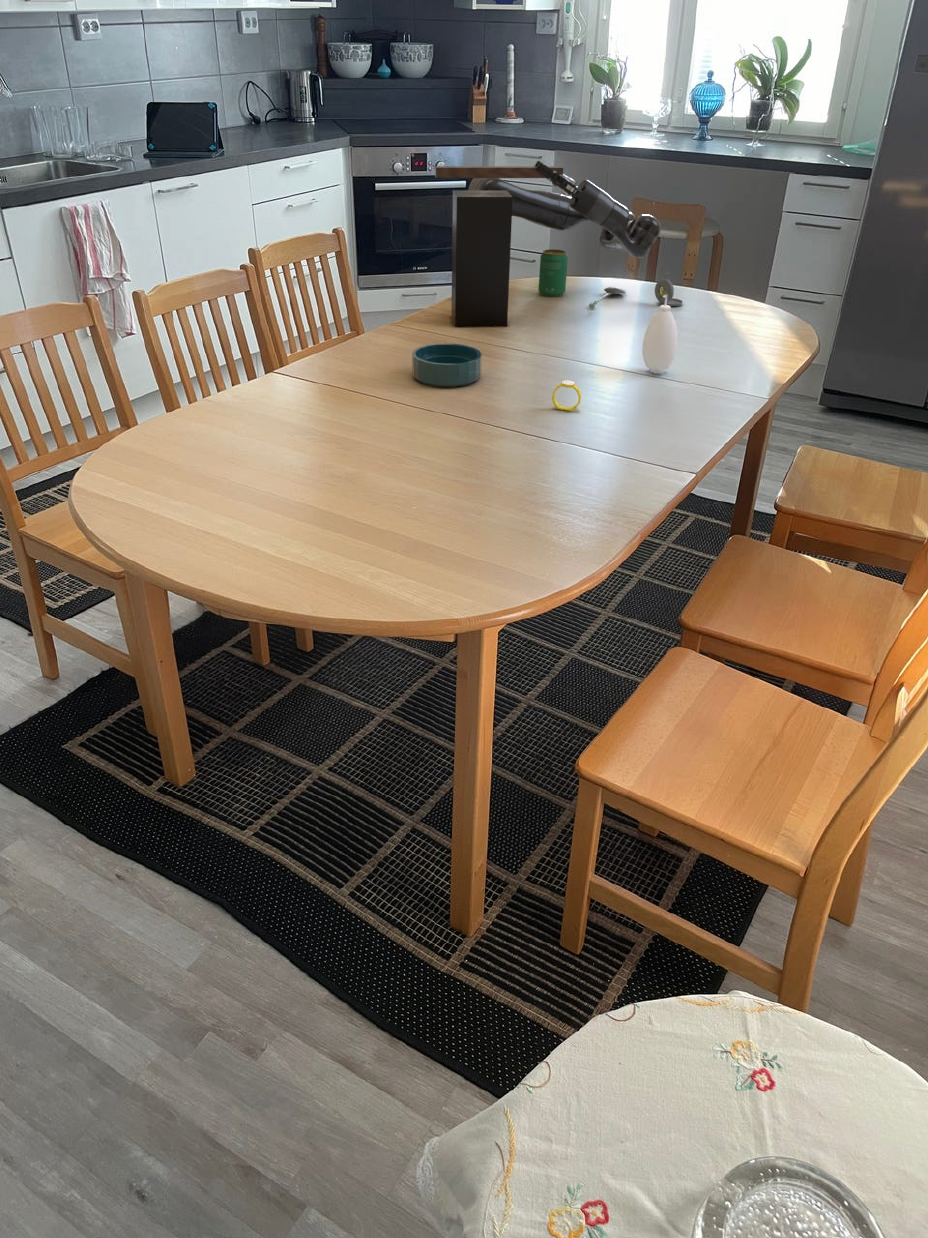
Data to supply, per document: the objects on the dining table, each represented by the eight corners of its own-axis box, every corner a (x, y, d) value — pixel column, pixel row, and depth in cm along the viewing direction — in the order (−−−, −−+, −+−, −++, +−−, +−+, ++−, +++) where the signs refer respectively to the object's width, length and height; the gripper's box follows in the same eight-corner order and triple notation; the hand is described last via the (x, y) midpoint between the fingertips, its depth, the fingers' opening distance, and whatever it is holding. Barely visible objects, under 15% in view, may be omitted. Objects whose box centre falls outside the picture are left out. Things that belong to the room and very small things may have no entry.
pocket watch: (683, 302, 276) (688, 267, 270) (679, 309, 269) (684, 273, 264) (655, 299, 278) (660, 264, 272) (650, 306, 271) (655, 270, 266)
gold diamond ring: (550, 410, 199) (552, 382, 196) (552, 405, 201) (554, 378, 198) (578, 413, 198) (580, 385, 194) (580, 408, 200) (582, 381, 197)
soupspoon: (629, 296, 283) (608, 295, 286) (629, 285, 281) (609, 283, 284) (601, 310, 266) (580, 308, 269) (602, 297, 264) (580, 295, 267)
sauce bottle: (666, 366, 225) (677, 289, 215) (678, 377, 218) (689, 297, 209) (635, 367, 224) (644, 290, 214) (646, 378, 217) (656, 298, 208)
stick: (560, 176, 238) (561, 166, 237) (562, 177, 236) (563, 167, 235) (435, 176, 235) (435, 165, 234) (436, 177, 233) (436, 167, 232)
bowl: (398, 377, 215) (397, 353, 212) (445, 362, 225) (445, 339, 222) (447, 393, 206) (447, 369, 203) (494, 377, 216) (495, 353, 213)
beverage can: (568, 292, 283) (571, 250, 277) (559, 298, 277) (562, 255, 271) (543, 289, 286) (546, 247, 279) (534, 295, 280) (536, 252, 273)
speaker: (501, 316, 260) (506, 190, 242) (507, 326, 251) (512, 196, 234) (451, 316, 258) (452, 190, 241) (455, 327, 250) (456, 196, 233)
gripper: (589, 221, 237) (533, 183, 231) (578, 211, 249) (524, 175, 243) (607, 193, 234) (550, 154, 228) (594, 184, 246) (540, 147, 240)
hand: (537, 165), depth 235 cm, fingers closed on stick, 2 cm apart
